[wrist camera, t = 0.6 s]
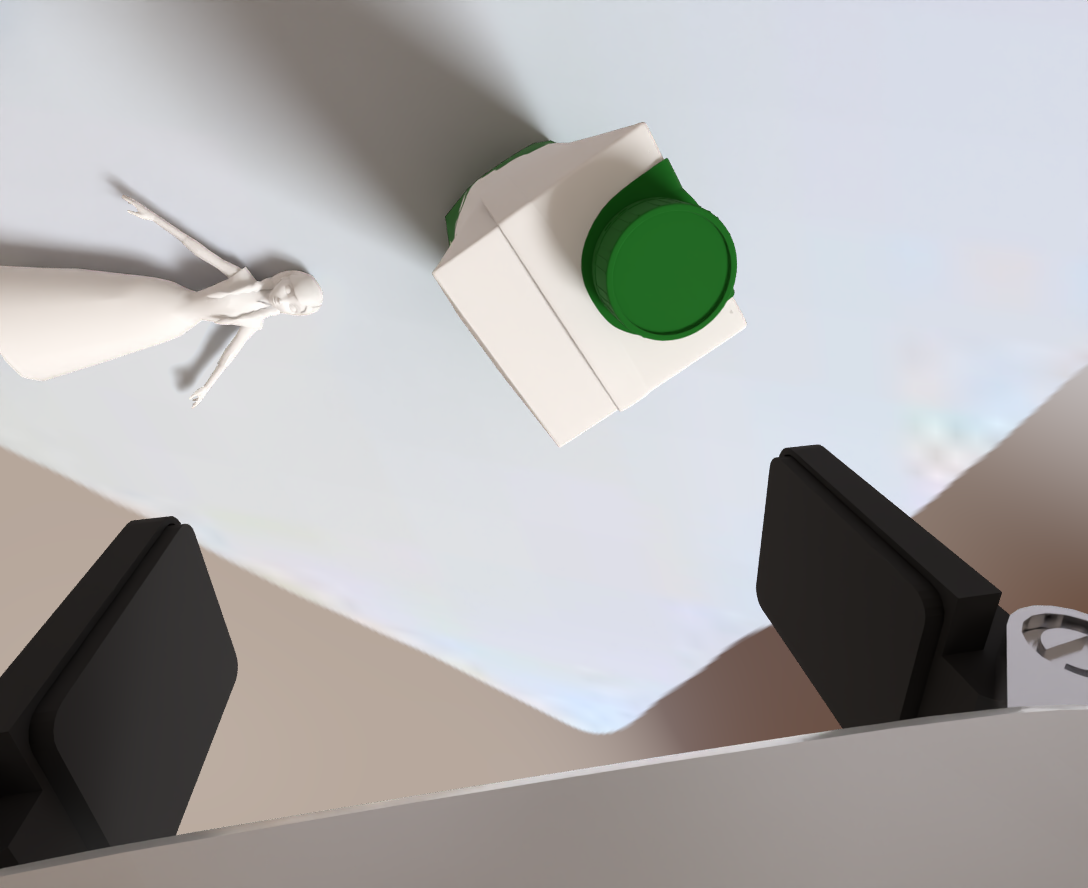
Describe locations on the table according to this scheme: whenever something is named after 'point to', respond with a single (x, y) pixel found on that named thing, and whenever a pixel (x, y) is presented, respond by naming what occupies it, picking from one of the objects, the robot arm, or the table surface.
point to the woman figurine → (133, 310)
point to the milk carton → (589, 275)
